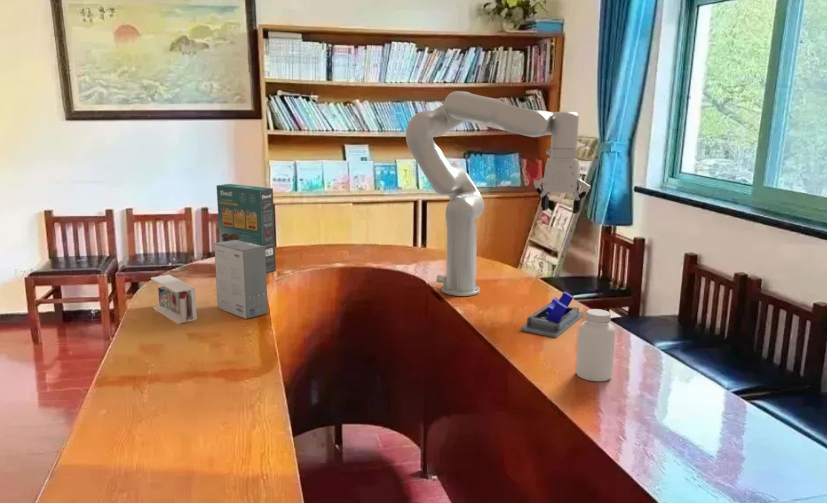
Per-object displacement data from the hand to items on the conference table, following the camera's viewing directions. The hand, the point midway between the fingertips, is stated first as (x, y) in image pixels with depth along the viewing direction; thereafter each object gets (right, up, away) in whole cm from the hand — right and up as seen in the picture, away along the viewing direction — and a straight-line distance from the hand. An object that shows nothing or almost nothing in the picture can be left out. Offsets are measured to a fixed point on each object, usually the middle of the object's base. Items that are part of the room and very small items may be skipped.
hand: (560, 211), depth 202 cm
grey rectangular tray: (-5, -32, -14) cm, 35 cm away
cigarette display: (-113, -30, -9) cm, 117 cm away
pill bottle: (-3, -40, -50) cm, 64 cm away
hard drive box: (-94, -30, -6) cm, 99 cm away
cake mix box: (-105, -18, +44) cm, 115 cm away
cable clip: (-5, -30, -14) cm, 34 cm away
